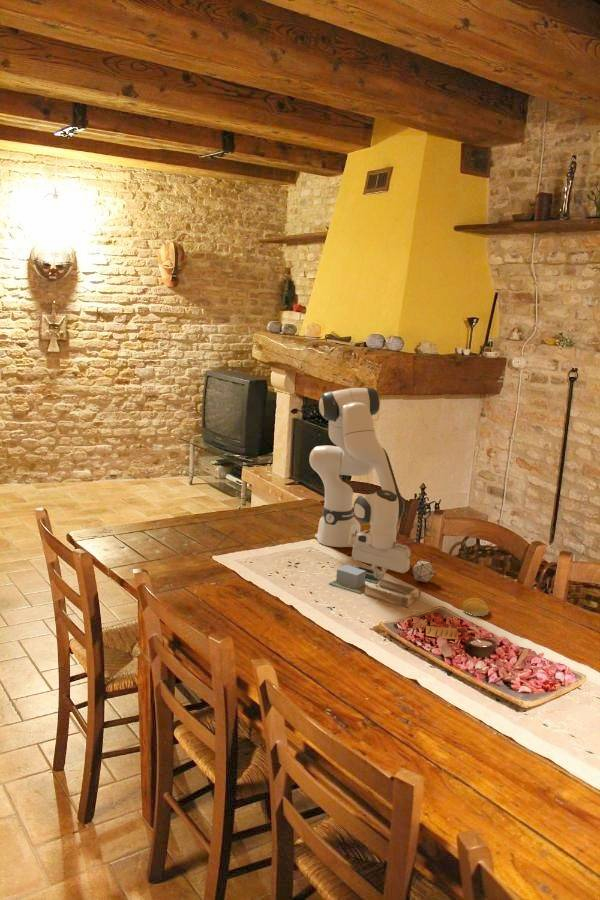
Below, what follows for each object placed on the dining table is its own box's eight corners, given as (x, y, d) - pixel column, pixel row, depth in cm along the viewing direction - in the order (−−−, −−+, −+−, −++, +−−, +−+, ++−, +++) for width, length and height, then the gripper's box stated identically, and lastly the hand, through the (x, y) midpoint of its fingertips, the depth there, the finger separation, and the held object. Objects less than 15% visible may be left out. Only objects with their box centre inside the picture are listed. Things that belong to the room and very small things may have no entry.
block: (344, 578, 258) (345, 564, 257) (364, 584, 254) (365, 570, 253) (335, 583, 253) (337, 569, 252) (356, 589, 249) (357, 575, 248)
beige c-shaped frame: (380, 584, 254) (380, 577, 253) (420, 596, 246) (421, 589, 246) (364, 594, 244) (365, 587, 244) (405, 606, 237) (406, 599, 236)
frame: (347, 574, 262) (347, 573, 262) (377, 582, 255) (377, 581, 255) (328, 584, 251) (328, 583, 251) (359, 593, 245) (359, 592, 244)
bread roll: (463, 616, 233) (464, 604, 232) (461, 605, 242) (463, 593, 241) (489, 619, 232) (491, 607, 231) (487, 608, 241) (488, 596, 240)
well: (357, 570, 266) (358, 565, 266) (380, 576, 261) (380, 571, 261) (350, 574, 262) (351, 569, 261) (373, 580, 257) (373, 575, 256)
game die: (425, 591, 261) (444, 570, 260) (420, 590, 253) (439, 569, 252) (407, 573, 265) (425, 553, 264) (401, 572, 257) (420, 551, 256)
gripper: (415, 544, 243) (410, 583, 246) (360, 530, 253) (356, 567, 256) (407, 549, 237) (402, 589, 240) (351, 534, 248) (348, 572, 251)
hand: (378, 578), depth 248 cm, fingers closed
